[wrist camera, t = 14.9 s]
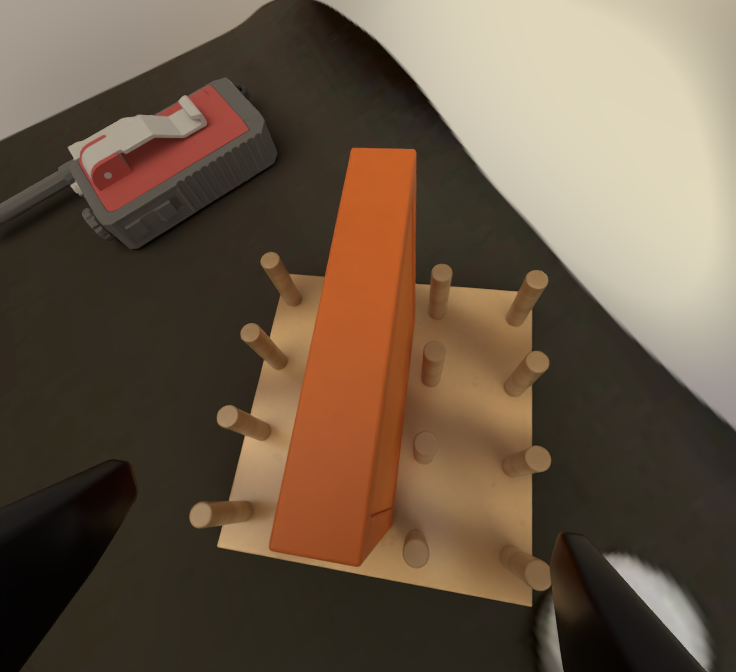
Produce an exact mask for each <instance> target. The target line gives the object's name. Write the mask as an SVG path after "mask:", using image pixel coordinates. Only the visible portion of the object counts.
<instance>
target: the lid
mask: <svg viewBox="0 0 736 672" xmlns="http://www.w3.org/2000/svg"><path fill="white" fill-rule="evenodd" d="M415 271H416V151H415V150H414V149H383V148H352V150H351V154H350V158H349V163H348V168H347V173H346V178H345V182H344V187H343V192H342V197H341V201H340V206H339V211H338V216H337V221H336V225H335V230H334V235H333V240H332V245H331V249H330V254H329V259H328V264H327V269H326V273H325V278H324V283H323V288H322V292H321V297H320V302H319V307H318V312H317V316H316V321H315V326H314V331H313V336H312V340H311V345H310V350H309V355H308V360H307V364H306V369H305V374H304V379H303V383H302V388H301V393H300V398H299V403H298V407H297V412H296V417H295V422H294V427H293V431H292V436H291V441H290V446H289V451H288V455H287V460H286V465H285V470H284V474H283V479H282V484H281V489H280V494H279V498H278V503H277V508H276V513H275V518H274V522H273V527H272V532H271V537H270V542H269V549H270V550H271V551H273V552H278V553H284V554H289V555H295V556H300V557H305V558H311V559H316V560H322V561H327V562H332V563H338V564H343V565H349V566H354V567H358V566H361V564H362V563H363V562H364V560H365V559H366V558H367V557H368V556H369V554H370V553H371V552H372V551H373V549H374V548H375V547H376V546H377V544H378V543H379V542H380V541H381V539H382V538H383V537H384V535H385V534H386V533H387V532H388V530H389V529H390V528H391V527H392V521H393V512H394V503H395V494H396V485H397V476H398V468H399V459H400V450H401V441H402V432H403V423H404V414H405V405H406V396H407V387H408V378H409V369H410V360H411V351H412V342H413V333H414V325H415Z"/></svg>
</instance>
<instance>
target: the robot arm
mask: <svg viewBox="0 0 736 672" xmlns="http://www.w3.org/2000/svg"><path fill="white" fill-rule="evenodd" d="M137 495H138V487H137V483H136V479H135V475H134V471H133V467H132V465H131V464H130V463H129V462H127V461H122V460H116V459H111V460H108V461H105V462H103V463H101V464H98V465H96V466H94V467H92V468H89V469H87V470H85V471H83V472H80V473H78V474H76V475H74V476H71V477H69V478H67V479H65V480H63V481H60V482H58V483H56V484H54V485H51V486H49V487H47V488H45V489H42V490H40V491H38V492H36V493H33V494H31V495H29V496H27V497H24V498H22V499H20V500H18V501H15V502H13V503H11V504H9V505H6V506H4V507H2V508H0V672H19V671H20V670H21V668H22V667H23V666H24V664H25V663H26V662H27V660H28V659H29V657H30V656H31V655H32V653H33V652H34V651H35V649H36V648H37V646H38V645H39V644H40V642H41V641H42V640H43V638H44V637H45V635H46V634H47V633H48V631H49V630H50V629H51V627H52V626H53V625H54V623H55V622H56V620H57V619H58V618H59V616H60V615H61V614H62V612H63V611H64V609H65V608H66V607H67V605H68V604H69V603H70V601H71V600H72V598H73V597H74V596H75V594H76V593H77V592H78V590H79V589H80V587H81V586H82V585H83V583H84V582H85V581H86V579H87V578H88V576H89V575H90V573H91V572H92V571H93V569H94V568H95V566H96V565H97V563H98V561H99V560H100V558H101V557H102V555H103V553H104V552H105V550H106V549H107V547H108V545H109V544H110V542H111V540H112V539H113V537H114V535H115V534H116V532H117V531H118V529H119V527H120V526H121V524H122V522H123V521H124V519H125V517H126V516H127V514H128V513H129V511H130V509H131V508H132V506H133V504H134V503H135V501H136V498H137ZM550 579H551V586H552V594H553V601H554V608H555V616H556V623H557V630H558V638H559V645H560V652H561V659H562V665H563V670H564V672H706V671H705V669H704V668H703V667H702V666H701V665H700V664H699V663H698V662H697V660H696V659H695V658H694V657H693V656H692V655H691V654H690V653H689V652H688V650H687V649H686V648H685V647H684V646H683V645H682V644H681V643H680V641H679V640H678V639H677V638H676V637H675V636H674V635H673V634H672V632H671V631H670V630H669V629H668V628H667V627H666V626H665V625H664V624H663V622H662V621H661V620H660V619H659V618H658V617H657V616H656V615H655V613H654V612H653V611H652V610H651V609H650V608H649V607H648V606H647V605H646V603H645V602H644V601H643V600H642V599H641V598H640V597H639V596H638V594H637V593H636V592H635V591H634V590H633V589H632V588H631V587H630V586H629V584H628V583H627V582H626V581H625V580H624V579H623V578H622V577H621V575H620V574H619V573H618V572H617V571H616V570H615V569H614V568H613V567H612V565H611V564H610V563H609V562H608V561H607V560H606V559H605V558H604V556H603V555H602V554H601V553H600V552H599V551H598V550H597V549H596V548H595V546H594V545H593V544H592V543H591V542H590V541H589V540H588V539H587V538H586V537H585V536H584V535H581V534H576V533H570V532H560V533H559V535H558V537H557V540H556V543H555V547H554V550H553V553H552V557H551V560H550Z"/></svg>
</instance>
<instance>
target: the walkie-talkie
mask: <svg viewBox="0 0 736 672" xmlns="http://www.w3.org/2000/svg"><path fill="white" fill-rule="evenodd" d="M249 99H250V94H249V92H248V89H247V87H246V85H245V84H243V83H234V84H232V83H231V82H230V81H229V80H228V79H227V78H223V79H219V80H215V81H213V82H211V83H209V84H207V85H205V86H204V87H202V88H200V89H198V90H197V91H195V92H193V93H191V94H190V95H188V96H186V95H185V96H183V97H182V98H181V99H180V100H179V101H177V102H176V103H174V104H172V105H170V106H169V107H167V108H166V109H163V110H162V111H160V112H159V113H156V114H155V115H137V116H135V117H128V118H122V119H120V120H119V121H117V122H115V123H113V124H112V125H110V126H108V127H106V128H105V129H103V130H101V131H99V132H98V133H96V134H94V135H92V136H91V137H89V138H87V139H85V140H84V141H80V142H76V143H74V144H73V145H71V146H69V147H68V149H69V151H70V152H71V154H72V156H73V158H74V159H72V160H70V161H68V162H67V163H65V164H63V165H62V166H60V167H58V171H57V172H55V173H53V174H52V175H50V176H48V177H46V178H45V179H43V180H41V181H39V182H38V183H36V184H34V185H32V186H31V187H29V188H27V189H25V190H24V191H22V192H20V193H18V194H17V195H15V196H13V197H11V198H10V199H8V200H6V201H4V202H3V203H1V204H0V226H2V225H3V224H5V223H7V222H9V221H10V220H12V219H14V218H15V217H17V216H19V215H21V214H22V213H24V212H26V211H28V210H29V209H31V208H33V207H34V206H36V205H38V204H40V203H41V202H43V201H45V200H46V199H48V198H50V197H52V196H53V195H55V194H57V193H58V192H60V191H62V190H64V189H65V188H67V187H69V186H70V185H71V187H72V189H73V190H74V191H75V192H76V193H77V194H78V193H79V194H80V195H79V196H80V197H82V196H84V197H85V198H86V200H87V202H88V204H89V205H90V207H91V208H88V207H87V208H86V209H84V210H83V211H82V216H83V218H84V219H85V221H86V222H87V223H88V224H89V225H90V227H91V228H92V229H93V230H94V231H95V232H96V233H97V234H98V235H99V236H100V237H101V238H103V239H104V240H108V241H110V240H112V239H113V238H114V236H116V237H117V238H118V239H119V240H120V241H121V242H122V243H124V244H125V245H126V246H127V247H128V248H129V249H138V248H139V247H141V246H143V245H144V244H146V243H147V242H149V241H151V240H152V239H154V238H155V237H157V236H159V235H160V234H162V233H163V232H165V231H167V230H168V229H170V228H171V227H173V226H175V225H176V224H178V223H179V222H181V221H183V220H184V219H186V218H187V217H189V216H191V215H192V214H194V213H195V212H197V211H198V210H200V209H201V208H203V207H205V206H206V205H208V204H210V203H212V202H213V201H214V200H216V199H218V198H219V197H221V196H222V195H224V194H226V193H227V192H229V191H230V190H232V189H234V188H235V187H237V186H239V185H240V184H241V183H243V182H245V181H247V180H248V179H249V178H251V177H253V176H255V175H256V174H257V173H260V172H261V171H262V170H264V169H266V168H268V167H269V166H270V165H272V164H274V162H275V159H276V156H277V150H276V148H275V145H274V143H273V140H272V138H271V135H270V133H269V130H268V128H267V125H266V123H265V120H264V119H263V117H262V115H261V114H260V113H259V112H258V110H257V109H256V108H255V107H254V106H253V105H252V104H251V103H250V102H249V101H248V100H249Z"/></svg>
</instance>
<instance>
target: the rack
mask: <svg viewBox="0 0 736 672" xmlns="http://www.w3.org/2000/svg"><path fill="white" fill-rule="evenodd" d="M261 265H262V267H263V268H264V270H265V272H266V273H267V275H268V276H269V278H270V279H271V281H272V282H273V284H274V285H275V287H276V288H277V290H278V291H279V293H280V294H281V295H280V299H279V303H278V307H277V311H276V315H275V319H274V323H273V327H272V331H271V335H270V338H269V337H268V336H267V334H266V333H265V332H264V331H263V330H262V329H261V328H260V327H259V326H258V325H257V324H255V323H249V324H247V325H245V326H244V327H243V328H242V330H241V338H242V340H243V341H244V342H245V343H246V344H248V345H249V346H250V347H251V348H252V349H253V350H254V351H255V352H256V353H257V354H258V355H259V356H261V357H262V358H263V359H264V362H263V366H262V370H261V374H260V378H259V382H258V386H257V390H256V394H255V398H254V402H253V406H252V410H251V414H248V413H246V412H244V411H242V410H240V409H239V408H237V407H235V406H232V405H227V406H224V407H222V408H221V409H220V410H219V412H218V414H217V422H218V424H219V425H220V426H221V427H223V428H226V429H229V430H231V431H234V432H237V433H240V434H242V435H245V438H244V442H243V446H242V450H241V454H240V458H239V462H238V466H237V470H236V474H235V478H234V482H233V486H232V490H231V494H230V498H229V501H202V502H199V503H197V504H196V505H194V507H193V508H192V509H191V512H190V516H189V518H190V522H191V524H192V525H193V526H194V527H196V528H207V527H214V526H221V525H222V529H221V533H220V537H219V541H218V545H217V547H219V548H224V549H230V550H235V551H240V552H245V553H251V554H256V555H261V556H266V557H272V558H277V559H282V560H287V561H293V562H298V563H303V564H309V565H314V566H319V567H324V568H330V569H335V570H340V571H345V572H351V573H356V574H361V575H366V576H372V577H377V578H382V579H387V580H393V581H398V582H403V583H408V584H414V585H419V586H424V587H430V588H435V589H440V590H445V591H451V592H456V593H461V594H466V595H472V596H477V597H482V598H487V599H493V600H498V601H503V602H508V603H514V604H519V605H524V606H529V607H531V606H532V589H534V590H537V591H544V590H546V589H548V588H549V587H550V585H551V579H550V567H549V566H548V564H547V563H545V562H544V561H542V560H540V559H538V558H536V557H534V556H532V474H534V473H539V472H543V471H546V470H547V469H548V468H549V467H550V464H551V457H550V454H549V453H548V451H547V450H546V449H545V448H543V447H541V446H537V445H535V446H532V384H533V383H534V382H535V381H536V380H537V379H538V378H539V377H540V376H541V375H542V374H543V373H544V372H545V371H546V370H547V369H548V367H549V359H548V357H547V356H546V355H545V354H544V353H542V352H540V351H532V308H533V306H534V305H535V303H536V302H537V300H538V298H539V297H540V295H541V294H542V292H543V290H544V289H545V287H546V286H547V284H548V277H547V275H546V274H545V273H544V272H542V271H539V270H533V271H531V272H529V273H528V274H527V275H526V277H525V279H524V281H523V283H522V285H521V287H520V289H519V291H518V292H516V291H503V290H490V289H477V288H464V287H451V286H450V285H451V279H452V270H451V268H450V267H449V266H448V265H446V264H438V265H436V266H435V267H434V268H433V269H432V271H431V282H430V285H425V284H415V325H414V333H413V342H412V351H411V360H410V369H409V378H408V387H407V396H406V405H405V414H404V423H403V432H402V441H401V450H400V459H399V468H398V476H397V485H396V494H395V503H394V512H393V521H392V527H391V528H390V529H389V530H388V532H387V533H386V534H385V535H384V537H383V538H382V539H381V541H380V542H379V543H378V544H377V546H376V547H375V548H374V549H373V551H372V552H371V553H370V554H369V556H368V557H367V558H366V559H365V560H364V562H363V563H362V564H361V566H358V567H354V566H349V565H343V564H338V563H332V562H327V561H322V560H316V559H311V558H305V557H300V556H295V555H289V554H284V553H278V552H273V551H271V550H270V549H269V542H270V537H271V532H272V527H273V522H274V518H275V513H276V508H277V503H278V498H279V494H280V489H281V484H282V479H283V474H284V470H285V465H286V460H287V455H288V451H289V446H290V441H291V436H292V431H293V427H294V422H295V417H296V412H297V407H298V403H299V398H300V393H301V388H302V383H303V379H304V374H305V369H306V364H307V360H308V355H309V350H310V345H311V340H312V336H313V331H314V326H315V321H316V316H317V312H318V307H319V302H320V297H321V292H322V288H323V283H324V278H325V277H320V276H307V275H294V274H289V273H288V272H287V270H286V268H285V266H284V264H283V263H282V261H281V259H280V257H279V256H278V254H276V253H273V252H269V253H266V254H265V255H264V256H263V257H262V258H261Z"/></svg>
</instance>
